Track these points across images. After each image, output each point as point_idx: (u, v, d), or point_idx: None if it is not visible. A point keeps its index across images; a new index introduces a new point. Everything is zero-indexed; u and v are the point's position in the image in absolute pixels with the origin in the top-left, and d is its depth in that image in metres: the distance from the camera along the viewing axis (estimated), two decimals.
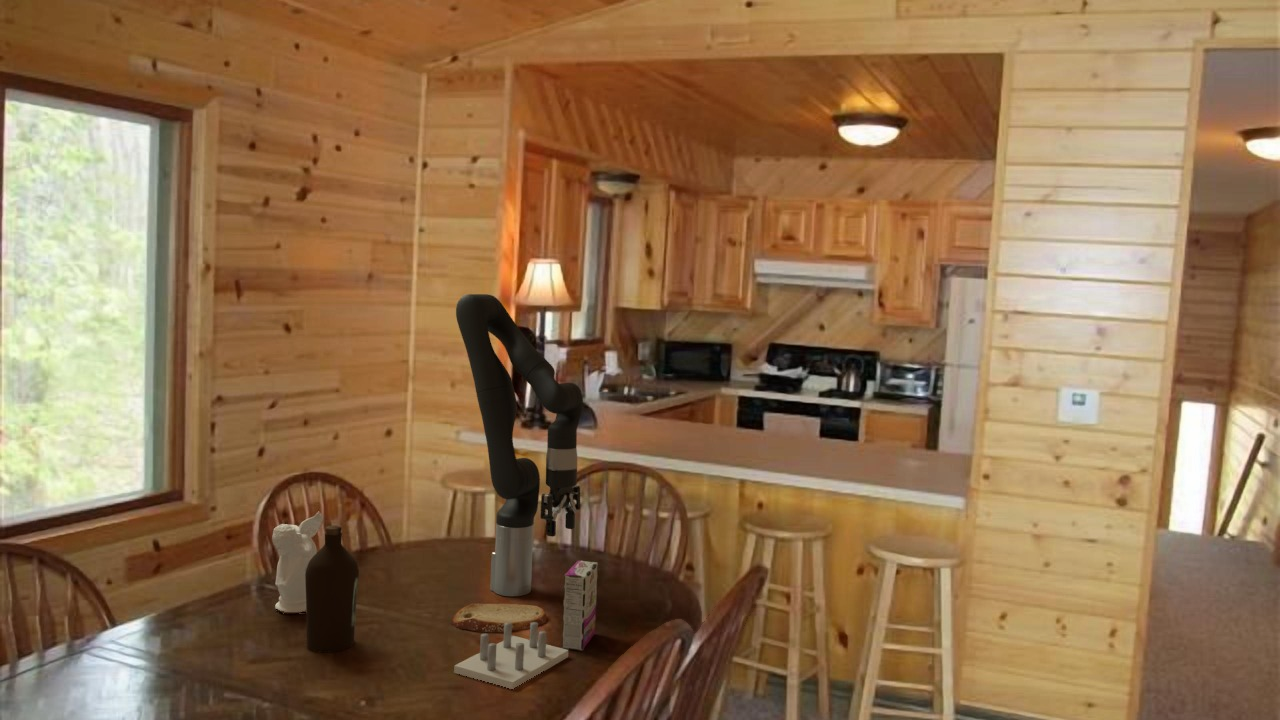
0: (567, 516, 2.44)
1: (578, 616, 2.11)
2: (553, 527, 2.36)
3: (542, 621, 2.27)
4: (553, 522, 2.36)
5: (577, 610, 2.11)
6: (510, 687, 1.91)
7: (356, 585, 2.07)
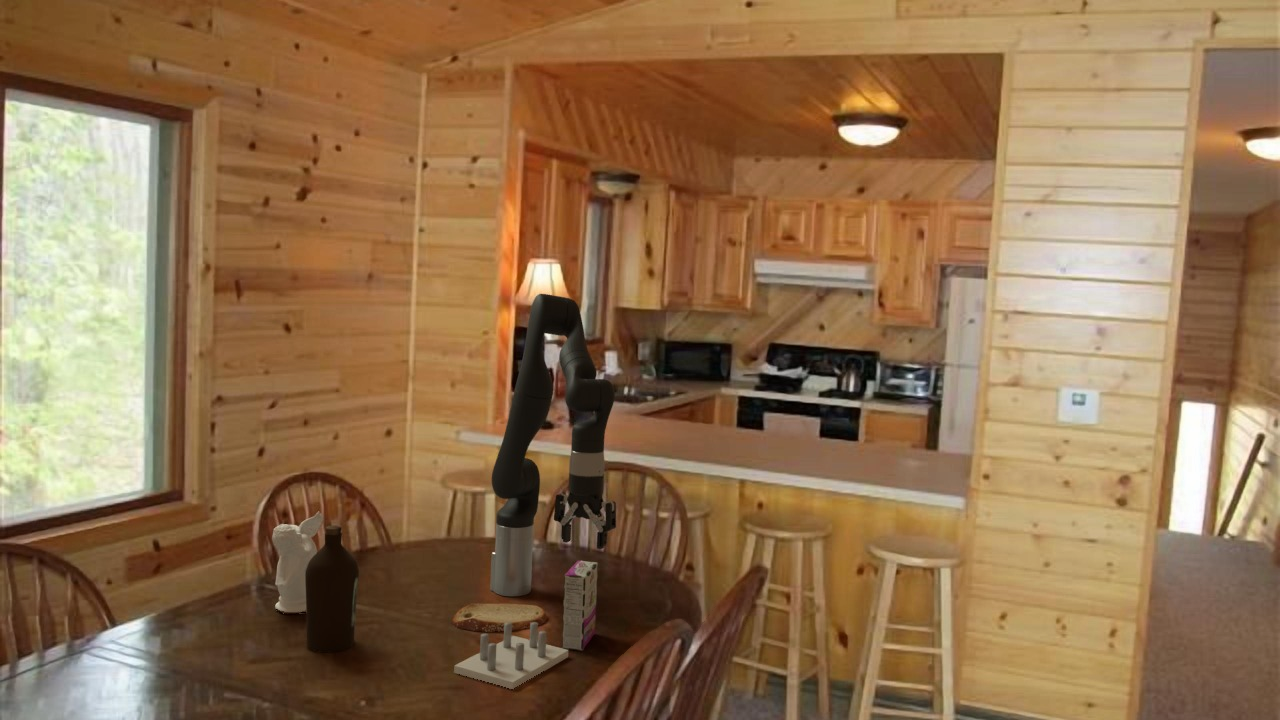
0: (567, 528, 2.17)
1: (578, 616, 2.11)
2: None
3: (542, 621, 2.27)
4: None
5: (577, 610, 2.11)
6: (510, 687, 1.91)
7: (356, 585, 2.07)
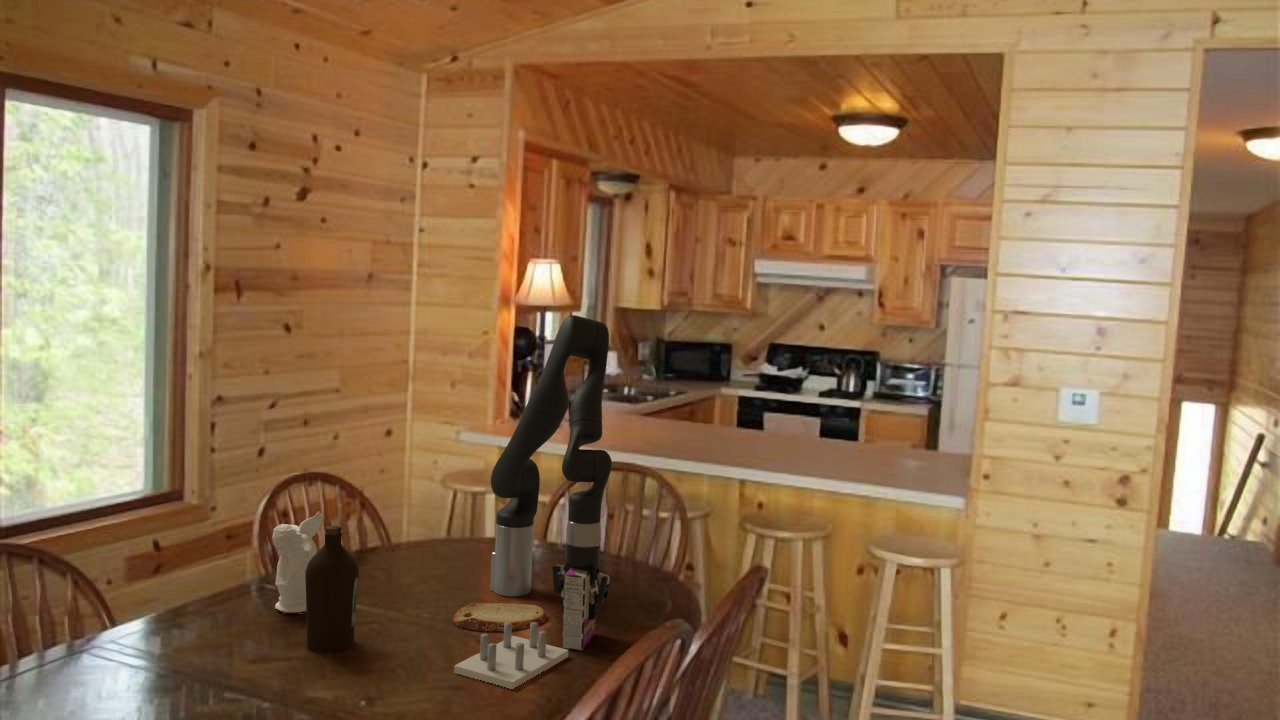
0: None
1: (578, 615, 2.11)
2: None
3: (542, 620, 2.27)
4: None
5: (577, 610, 2.11)
6: (510, 687, 1.91)
7: (356, 585, 2.07)
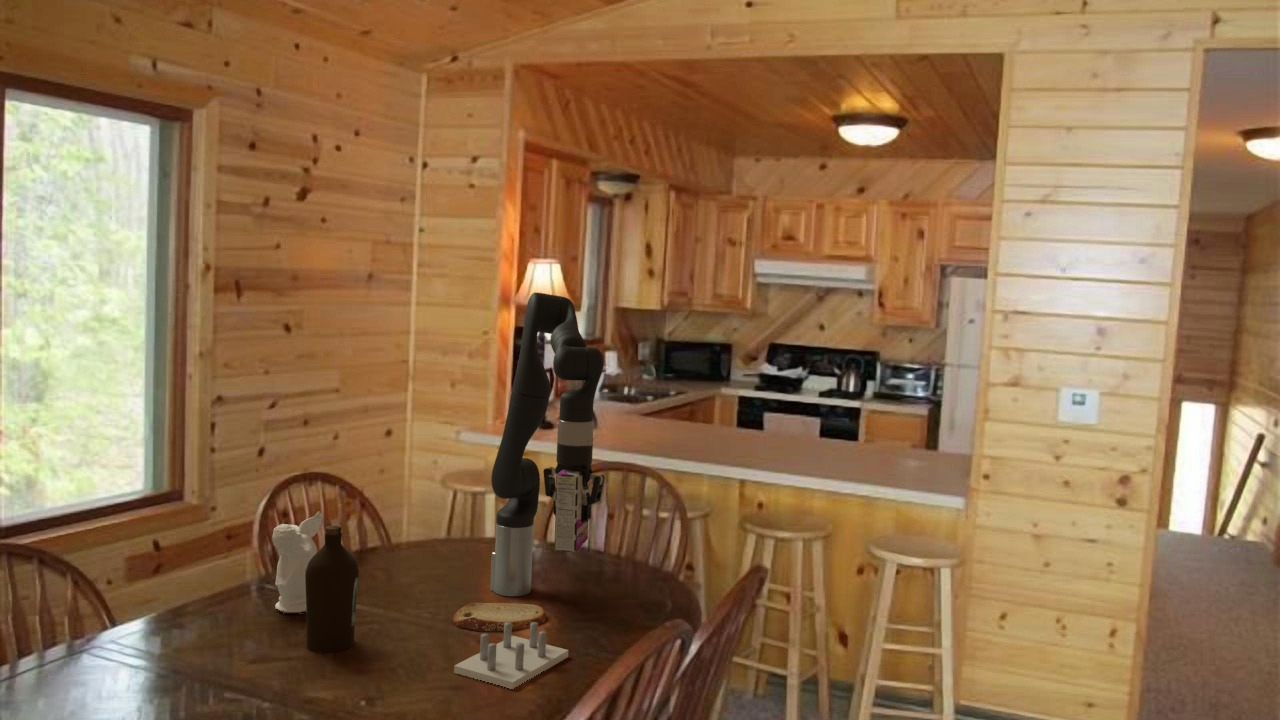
0: None
1: (571, 516, 2.06)
2: None
3: (542, 620, 2.27)
4: None
5: (570, 511, 2.06)
6: (510, 687, 1.91)
7: (356, 585, 2.07)
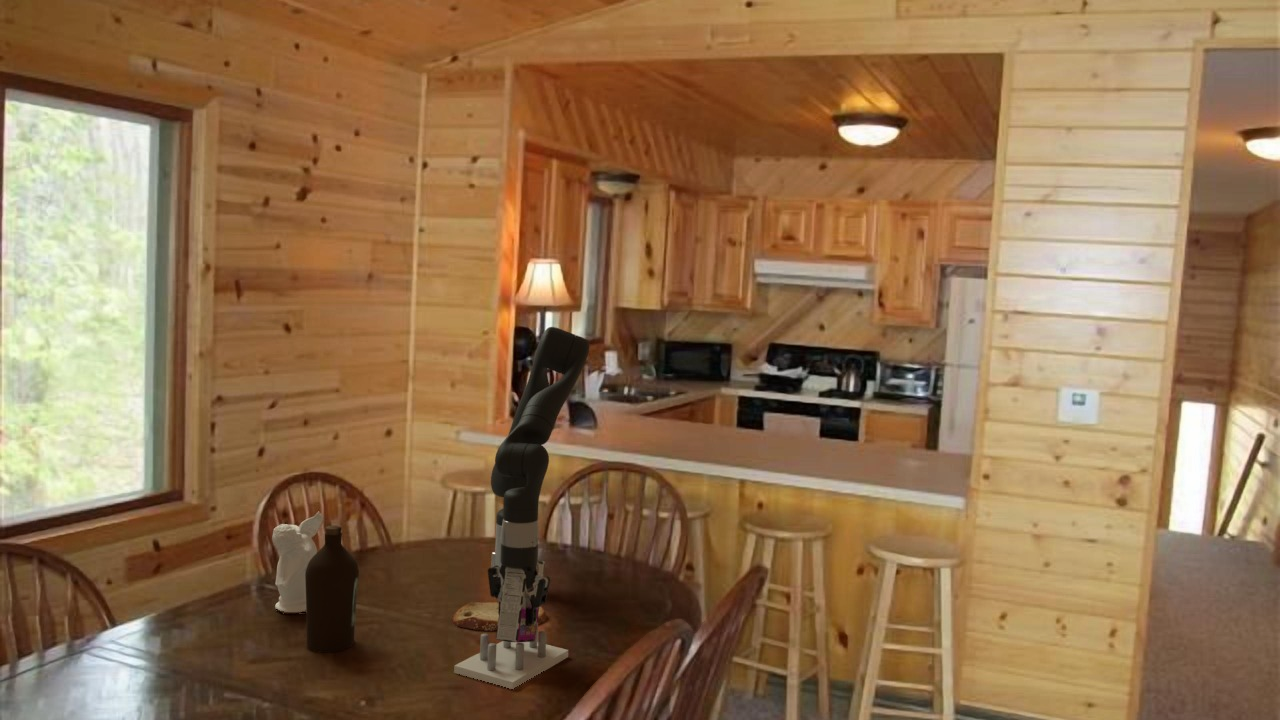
0: None
1: (517, 602, 1.98)
2: None
3: (542, 619, 2.28)
4: None
5: (516, 596, 1.98)
6: (510, 687, 1.91)
7: (356, 585, 2.07)
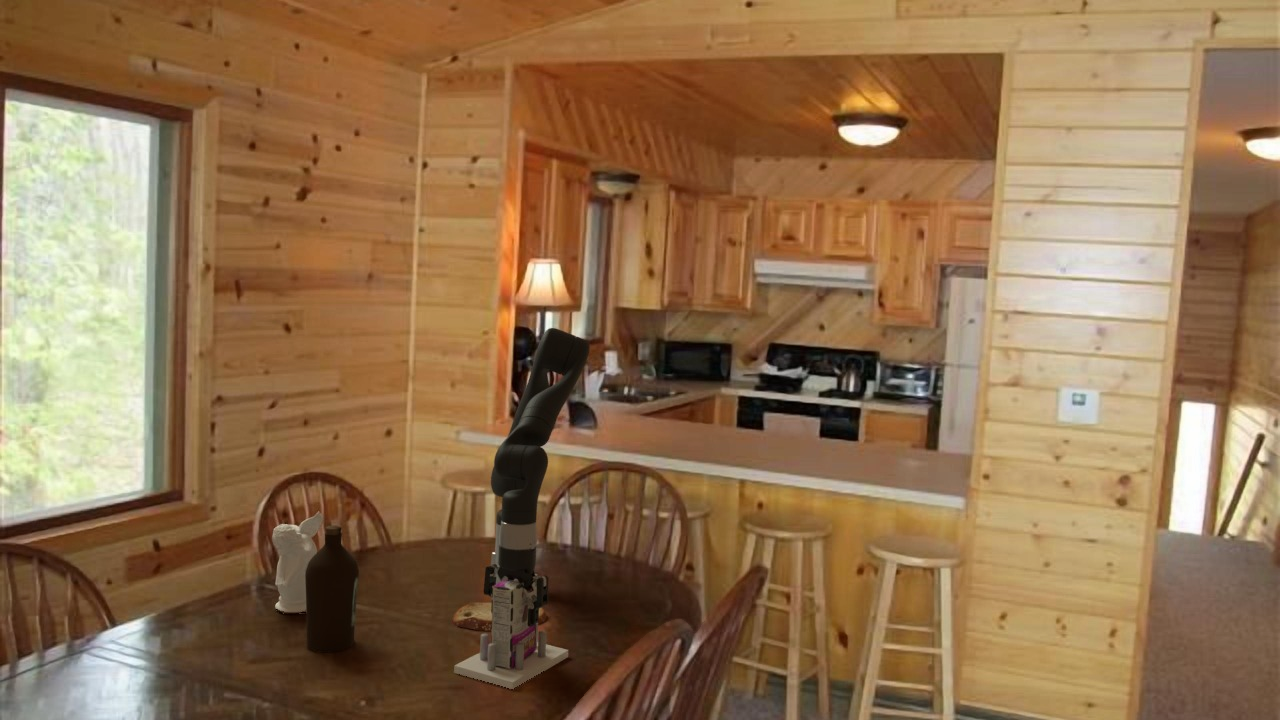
0: None
1: (506, 631, 1.96)
2: None
3: (542, 619, 2.28)
4: None
5: (505, 625, 1.96)
6: (510, 687, 1.91)
7: (356, 585, 2.07)
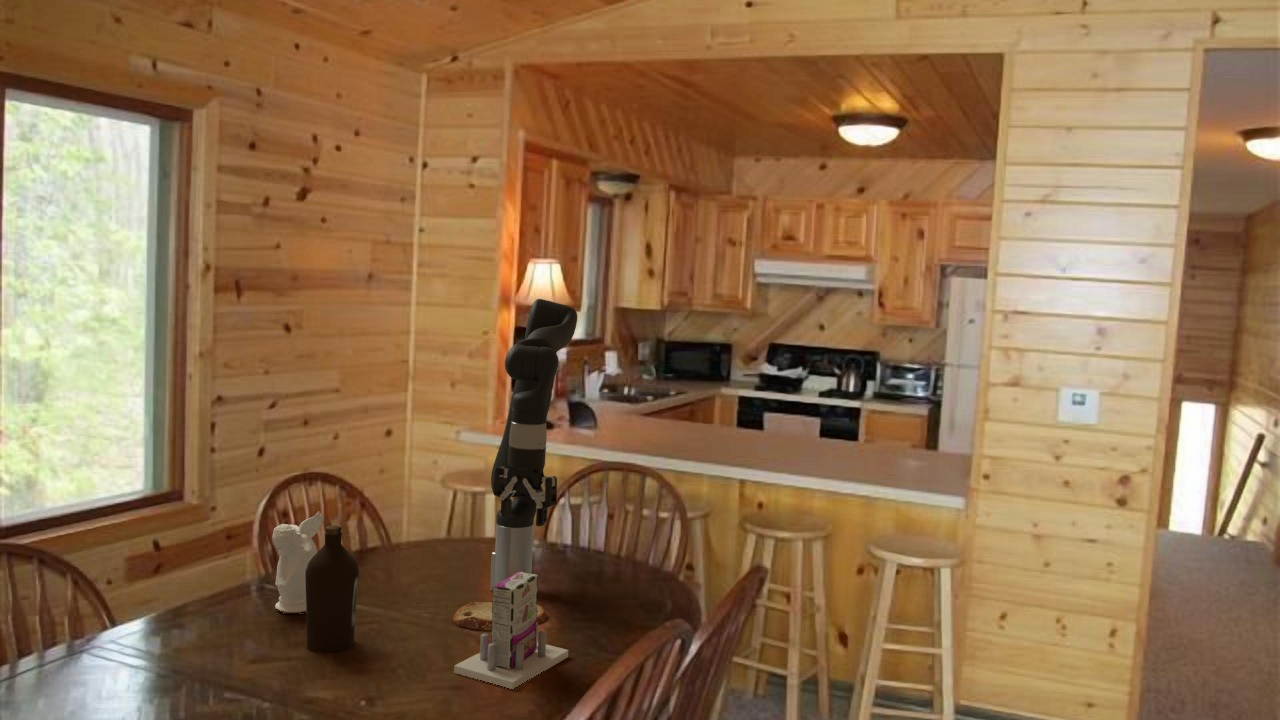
0: (506, 504, 2.05)
1: (507, 631, 1.96)
2: None
3: (542, 619, 2.28)
4: None
5: (505, 626, 1.96)
6: (510, 687, 1.91)
7: (356, 585, 2.07)
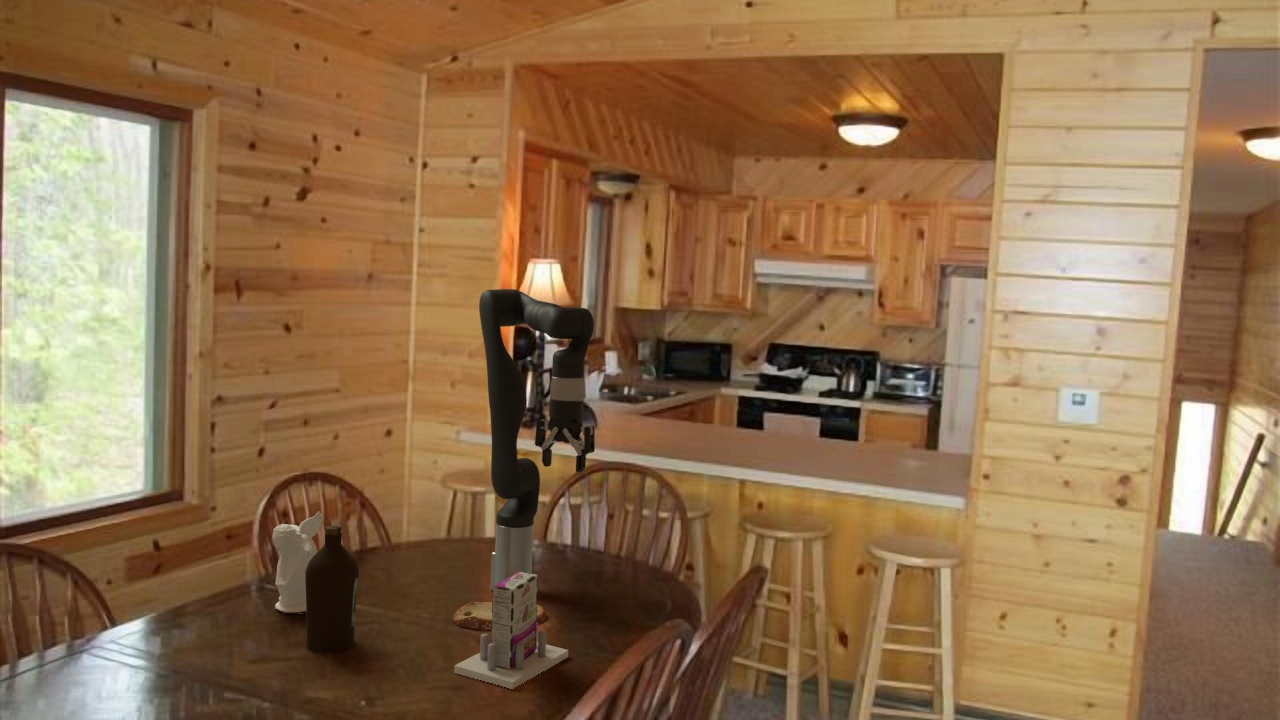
0: (547, 453, 2.24)
1: (507, 631, 1.96)
2: None
3: (542, 619, 2.28)
4: None
5: (505, 626, 1.96)
6: (510, 687, 1.91)
7: (356, 585, 2.07)
